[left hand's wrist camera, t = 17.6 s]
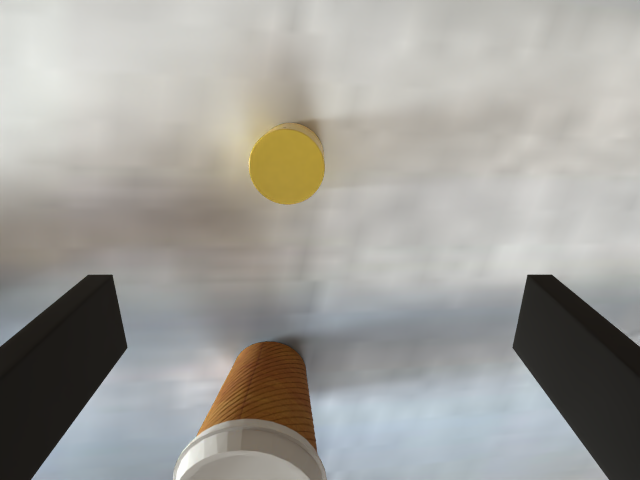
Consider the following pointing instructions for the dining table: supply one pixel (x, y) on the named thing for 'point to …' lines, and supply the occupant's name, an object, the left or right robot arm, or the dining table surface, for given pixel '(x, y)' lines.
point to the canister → (287, 164)
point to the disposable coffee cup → (257, 423)
